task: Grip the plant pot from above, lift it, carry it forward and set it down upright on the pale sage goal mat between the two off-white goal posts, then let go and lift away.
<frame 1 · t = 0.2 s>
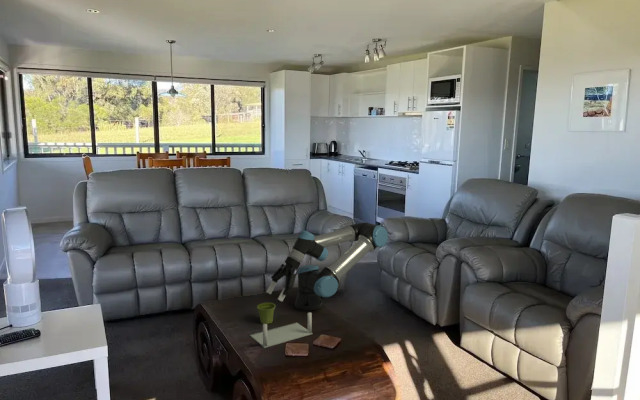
hand: (273, 296, 227), 15 cm above the table, tool tilted 35°, fingers open, 13 cm apart
goal mat: (281, 334, 219), on the table
plant pot: (266, 322, 234), on the table
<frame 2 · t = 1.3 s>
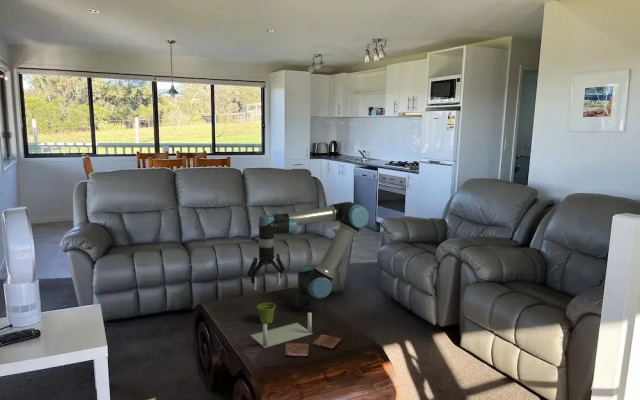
hand: (266, 286, 231), 19 cm above the table, tool pointing down, fingers open, 13 cm apart
nothing on the table moved.
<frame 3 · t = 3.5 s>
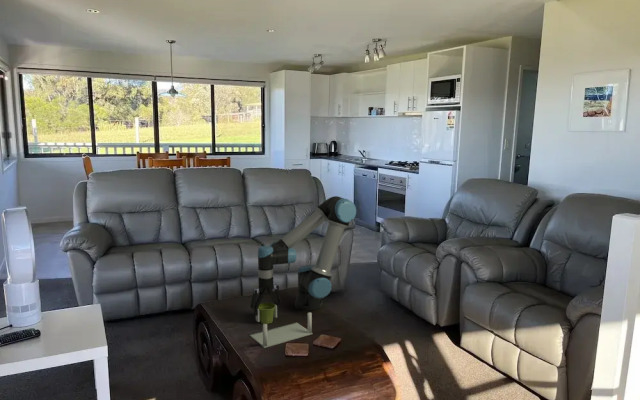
hand: (266, 318, 234), 2 cm above the table, tool pointing down, fingers closed on plant pot, 9 cm apart
plant pot: (266, 322, 234), on the table, touching gripper
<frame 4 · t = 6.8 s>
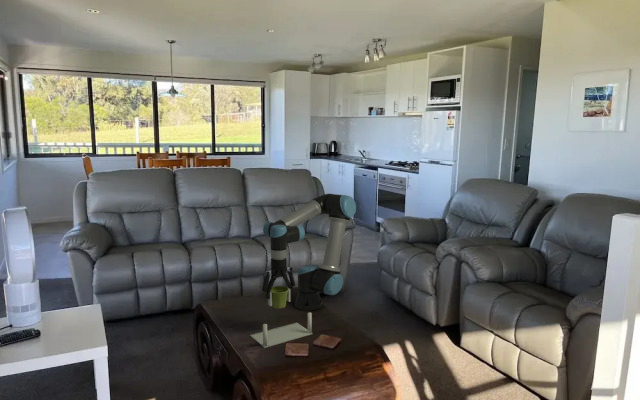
hand: (279, 303, 218), 16 cm above the table, tool pointing down, fingers closed on plant pot, 9 cm apart
plant pot: (279, 307, 219), point 14 cm above the table, touching gripper
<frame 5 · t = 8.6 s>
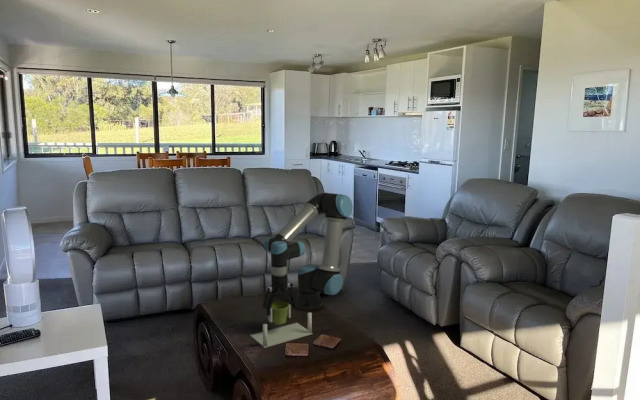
hand: (279, 318, 219), 8 cm above the table, tool pointing down, fingers closed on plant pot, 9 cm apart
plant pot: (279, 322, 220), point 6 cm above the table, touching gripper
when the fingers open (3 cm above the table, at t = 10.3 s): plant pot stays where it is, resting on goal mat.
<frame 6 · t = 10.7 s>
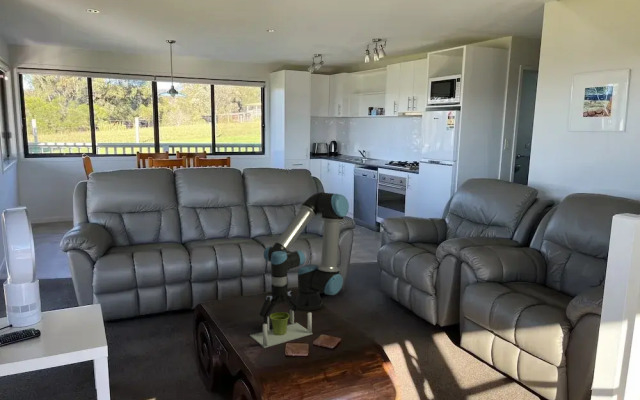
hand: (279, 326, 220), 4 cm above the table, tool pointing down, fingers open, 13 cm apart
plant pot: (279, 333, 220), resting on goal mat
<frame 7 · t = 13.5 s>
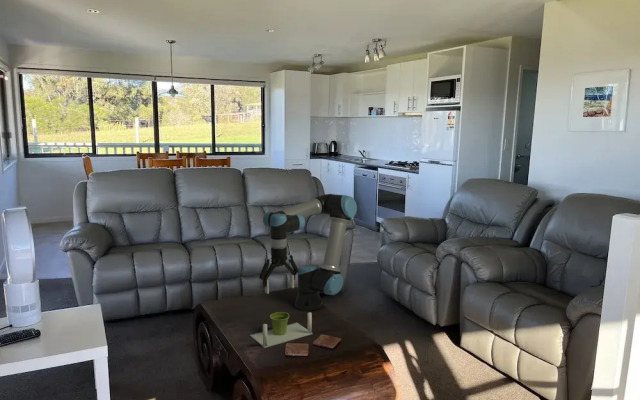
hand: (279, 290, 217), 22 cm above the table, tool pointing down, fingers open, 13 cm apart
nothing on the table moved.
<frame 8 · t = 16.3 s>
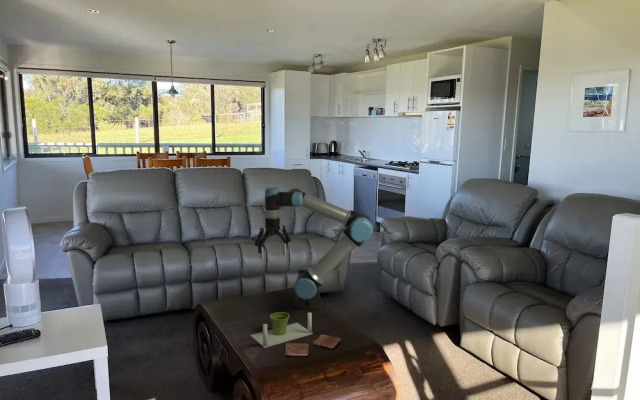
hand: (273, 257, 240), 32 cm above the table, tool pointing down, fingers open, 13 cm apart
nothing on the table moved.
at the end: plant pot inside the target area (0.5 cm from its centre), resting on goal mat; plant pot tilted 0°; the gripper is holding nothing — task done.
